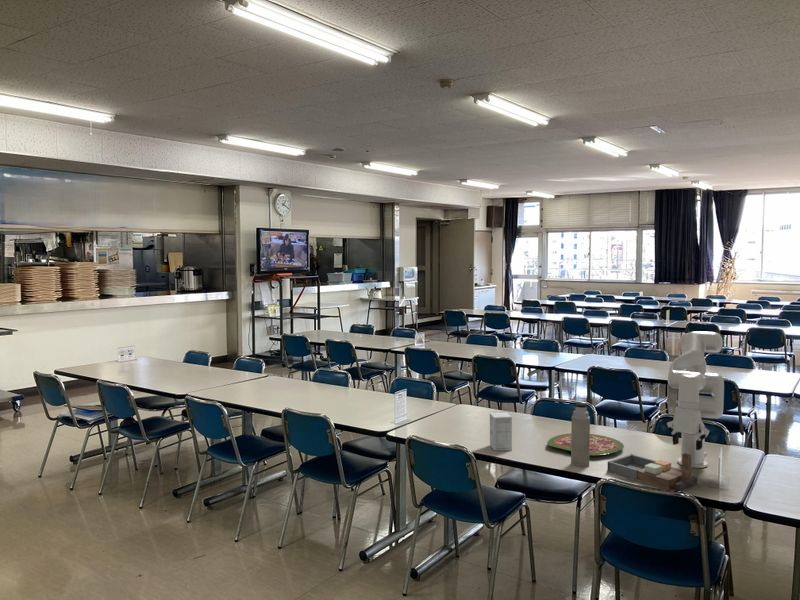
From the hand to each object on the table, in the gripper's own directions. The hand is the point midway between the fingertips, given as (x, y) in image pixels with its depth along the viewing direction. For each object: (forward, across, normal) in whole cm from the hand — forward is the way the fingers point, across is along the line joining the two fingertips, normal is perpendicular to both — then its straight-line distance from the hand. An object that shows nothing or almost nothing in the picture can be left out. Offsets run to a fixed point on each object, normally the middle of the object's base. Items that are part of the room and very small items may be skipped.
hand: (687, 446), depth 255 cm
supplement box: (+17, -84, -20) cm, 88 cm away
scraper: (+17, 0, +1) cm, 17 cm away
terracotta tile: (+13, -13, +4) cm, 19 cm away
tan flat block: (+17, -10, +1) cm, 20 cm away
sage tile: (+13, -13, -3) cm, 19 cm away
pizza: (+17, -59, +15) cm, 63 cm away
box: (+17, -24, +1) cm, 30 cm away
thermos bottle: (+17, -44, -10) cm, 49 cm away
